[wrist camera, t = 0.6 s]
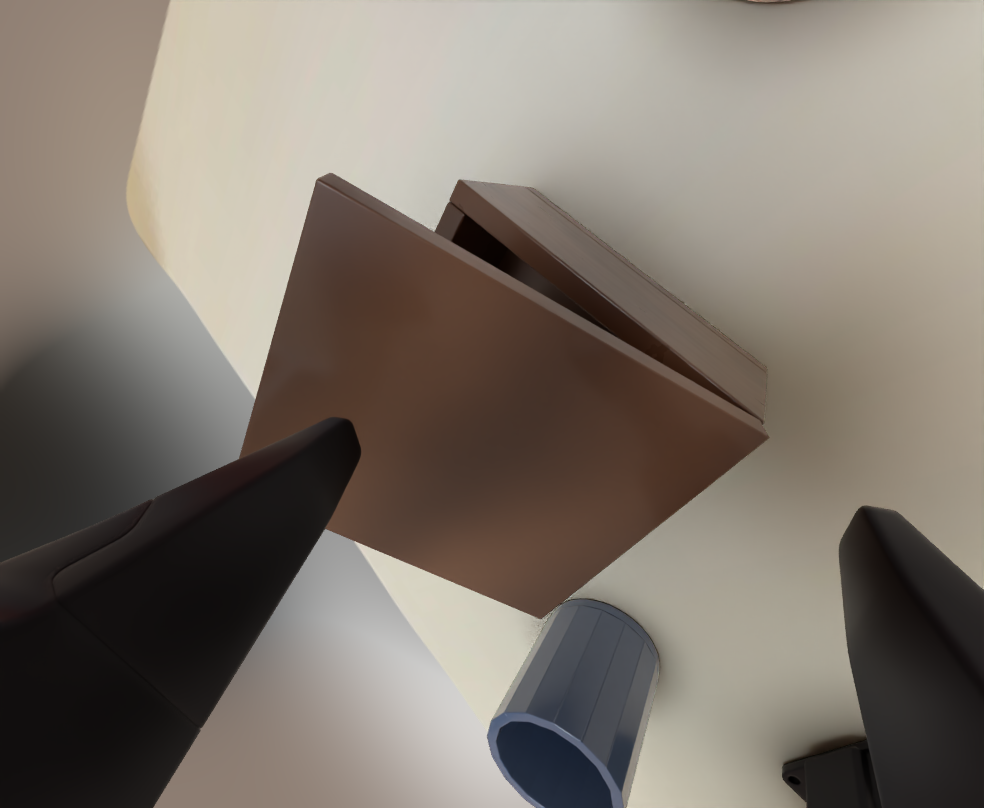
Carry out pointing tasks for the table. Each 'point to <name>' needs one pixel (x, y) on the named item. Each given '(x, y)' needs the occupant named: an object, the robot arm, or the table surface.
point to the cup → (578, 709)
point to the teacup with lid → (768, 0)
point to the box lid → (480, 409)
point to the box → (598, 286)
